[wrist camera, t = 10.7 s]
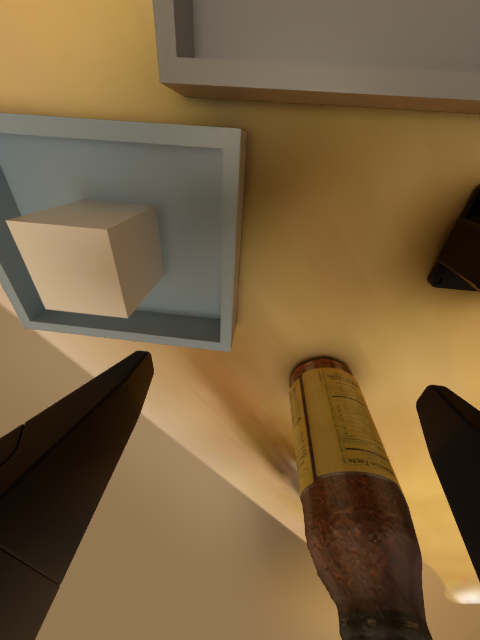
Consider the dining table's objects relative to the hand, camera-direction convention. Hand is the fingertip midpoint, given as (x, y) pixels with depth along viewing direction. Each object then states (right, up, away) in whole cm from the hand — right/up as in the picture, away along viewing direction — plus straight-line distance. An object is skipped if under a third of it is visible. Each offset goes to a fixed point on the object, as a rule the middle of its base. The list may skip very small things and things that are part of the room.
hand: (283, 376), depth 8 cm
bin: (-10, +8, +10) cm, 16 cm away
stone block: (-10, +8, +10) cm, 16 cm away
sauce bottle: (+7, -4, +17) cm, 18 cm away
